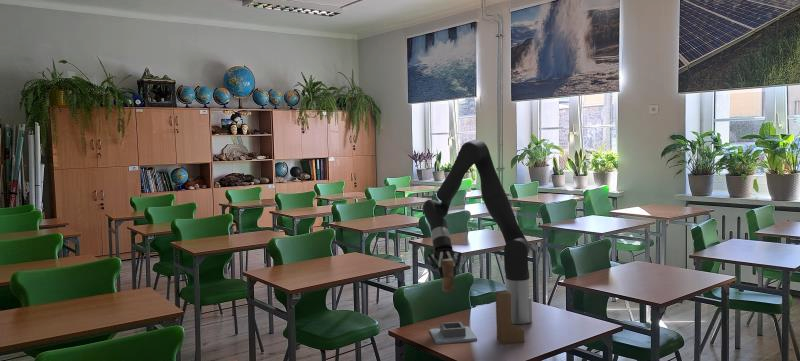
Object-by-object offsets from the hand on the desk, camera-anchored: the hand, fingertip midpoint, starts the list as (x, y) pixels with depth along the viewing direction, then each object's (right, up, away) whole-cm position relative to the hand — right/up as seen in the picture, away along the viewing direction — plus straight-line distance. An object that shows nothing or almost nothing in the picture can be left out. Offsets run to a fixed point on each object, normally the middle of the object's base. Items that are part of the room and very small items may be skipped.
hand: (448, 276), depth 229 cm
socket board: (+1, -21, -9) cm, 23 cm away
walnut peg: (0, -6, +2) cm, 6 cm away
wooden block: (+21, -21, -17) cm, 34 cm away
